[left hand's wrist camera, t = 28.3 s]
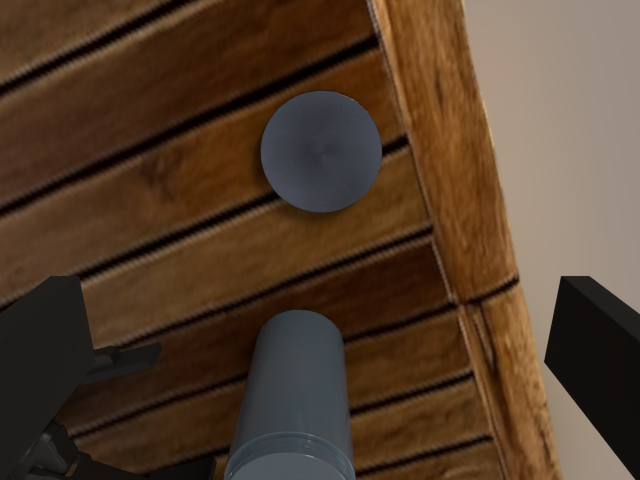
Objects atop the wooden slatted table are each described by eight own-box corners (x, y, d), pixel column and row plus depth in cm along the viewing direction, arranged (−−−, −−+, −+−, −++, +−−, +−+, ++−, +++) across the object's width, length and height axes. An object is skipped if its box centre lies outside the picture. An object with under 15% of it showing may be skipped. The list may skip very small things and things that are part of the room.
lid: (255, 197, 41) (253, 202, 39) (271, 79, 37) (269, 79, 36) (366, 216, 42) (367, 221, 40) (391, 101, 38) (394, 103, 37)
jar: (323, 296, 44) (325, 430, 28) (357, 368, 47) (377, 529, 31) (240, 328, 46) (194, 474, 29) (278, 396, 48) (255, 565, 32)
